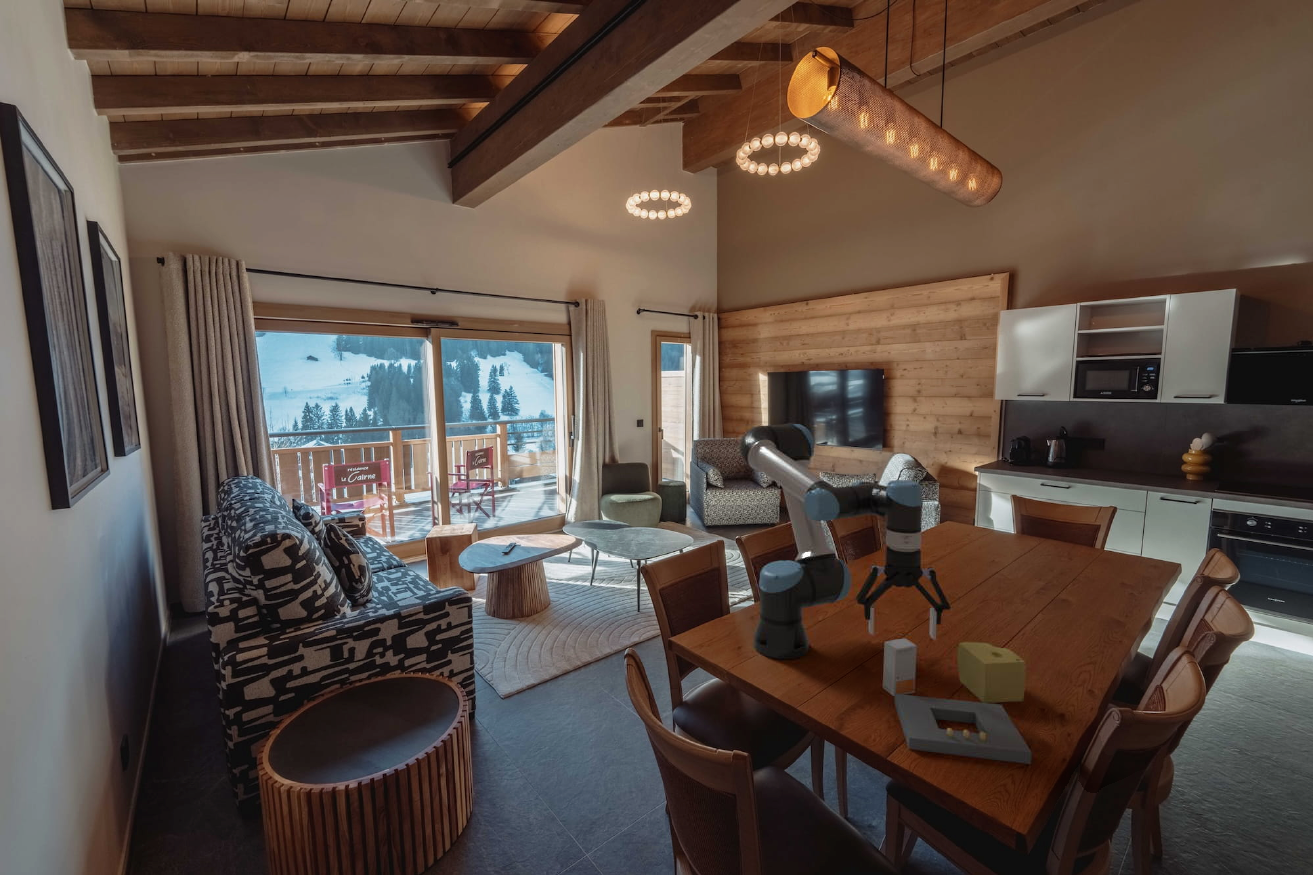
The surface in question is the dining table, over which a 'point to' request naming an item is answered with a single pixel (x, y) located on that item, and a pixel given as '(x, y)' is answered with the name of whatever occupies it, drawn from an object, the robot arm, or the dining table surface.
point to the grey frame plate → (990, 719)
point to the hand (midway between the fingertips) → (901, 634)
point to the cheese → (991, 672)
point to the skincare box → (899, 666)
